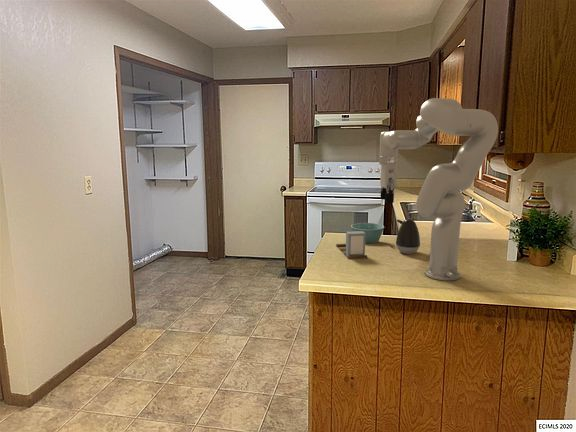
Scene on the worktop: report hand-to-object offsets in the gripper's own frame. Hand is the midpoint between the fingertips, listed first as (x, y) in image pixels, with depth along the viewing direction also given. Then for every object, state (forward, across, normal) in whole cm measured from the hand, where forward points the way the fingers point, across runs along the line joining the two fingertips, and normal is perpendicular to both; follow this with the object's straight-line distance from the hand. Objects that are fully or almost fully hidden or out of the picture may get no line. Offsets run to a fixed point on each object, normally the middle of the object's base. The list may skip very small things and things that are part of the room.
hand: (386, 201), depth 179 cm
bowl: (+23, +20, +4) cm, 31 cm away
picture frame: (+22, -9, +15) cm, 28 cm away
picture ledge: (+23, -3, +16) cm, 28 cm away
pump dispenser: (+23, +1, -10) cm, 26 cm away
